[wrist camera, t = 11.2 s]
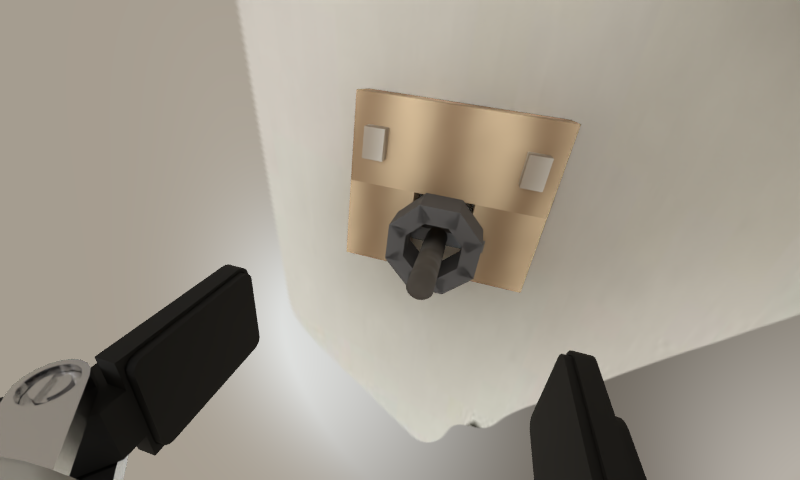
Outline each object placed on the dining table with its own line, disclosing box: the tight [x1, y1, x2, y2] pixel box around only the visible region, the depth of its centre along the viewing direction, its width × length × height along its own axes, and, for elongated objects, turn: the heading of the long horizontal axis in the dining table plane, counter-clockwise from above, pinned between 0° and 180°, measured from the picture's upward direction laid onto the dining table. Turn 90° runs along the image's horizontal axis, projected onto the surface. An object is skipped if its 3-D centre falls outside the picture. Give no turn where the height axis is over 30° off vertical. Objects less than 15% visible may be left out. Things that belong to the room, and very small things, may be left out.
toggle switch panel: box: [347, 89, 581, 300], centre depth 25 cm, size 16×14×11 cm
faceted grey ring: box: [385, 193, 483, 294], centre depth 27 cm, size 7×7×3 cm
